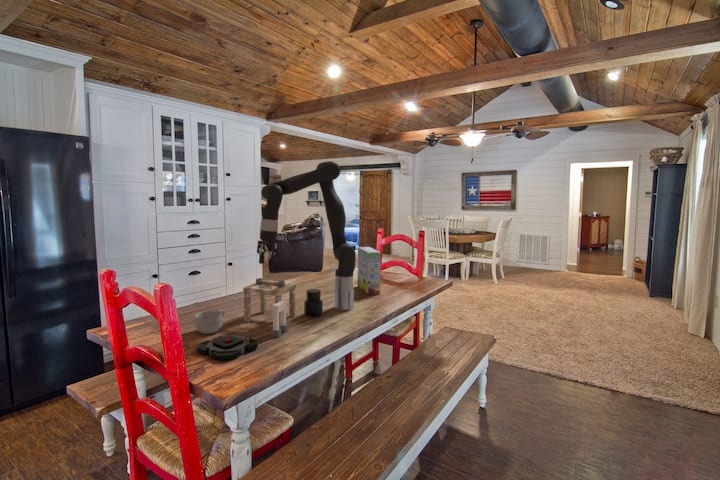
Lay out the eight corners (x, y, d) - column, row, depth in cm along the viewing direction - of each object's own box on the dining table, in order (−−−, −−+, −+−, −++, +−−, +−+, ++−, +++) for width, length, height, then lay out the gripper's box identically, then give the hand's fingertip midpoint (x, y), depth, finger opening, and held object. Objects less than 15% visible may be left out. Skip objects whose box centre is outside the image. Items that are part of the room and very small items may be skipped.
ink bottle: (315, 310, 193) (315, 287, 192) (326, 314, 187) (327, 291, 185) (299, 314, 186) (299, 290, 185) (310, 319, 180) (311, 294, 179)
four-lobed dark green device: (192, 352, 141) (191, 340, 140) (231, 337, 156) (231, 326, 155) (224, 365, 131) (224, 352, 131) (263, 347, 147) (263, 336, 146)
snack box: (356, 286, 245) (357, 246, 242) (368, 285, 248) (370, 246, 245) (366, 295, 225) (368, 251, 222) (380, 294, 227) (382, 251, 224)
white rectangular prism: (280, 329, 165) (280, 300, 163) (288, 330, 164) (288, 300, 162) (271, 336, 157) (270, 305, 156) (278, 337, 156) (278, 306, 155)
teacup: (206, 338, 153) (205, 319, 152) (189, 332, 159) (189, 314, 158) (234, 328, 165) (233, 310, 164) (217, 323, 171) (217, 306, 170)
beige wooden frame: (295, 316, 184) (295, 278, 181) (279, 326, 168) (279, 285, 166) (262, 311, 189) (262, 274, 187) (243, 321, 174) (243, 281, 171)
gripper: (284, 231, 168) (281, 267, 170) (268, 228, 178) (265, 262, 180) (269, 231, 163) (266, 268, 164) (253, 227, 173) (250, 262, 175)
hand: (266, 265), depth 172 cm, fingers open, 8 cm apart
